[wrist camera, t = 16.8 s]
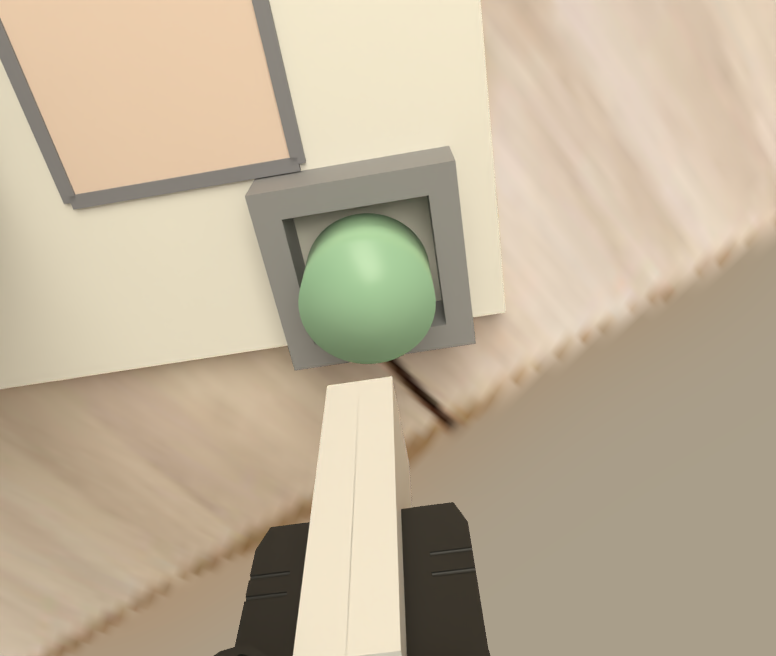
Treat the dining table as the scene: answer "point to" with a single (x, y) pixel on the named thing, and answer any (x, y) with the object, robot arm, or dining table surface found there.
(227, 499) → the dining table surface
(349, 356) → the button
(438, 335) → the cream board
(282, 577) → the robot arm
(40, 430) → the dining table surface
